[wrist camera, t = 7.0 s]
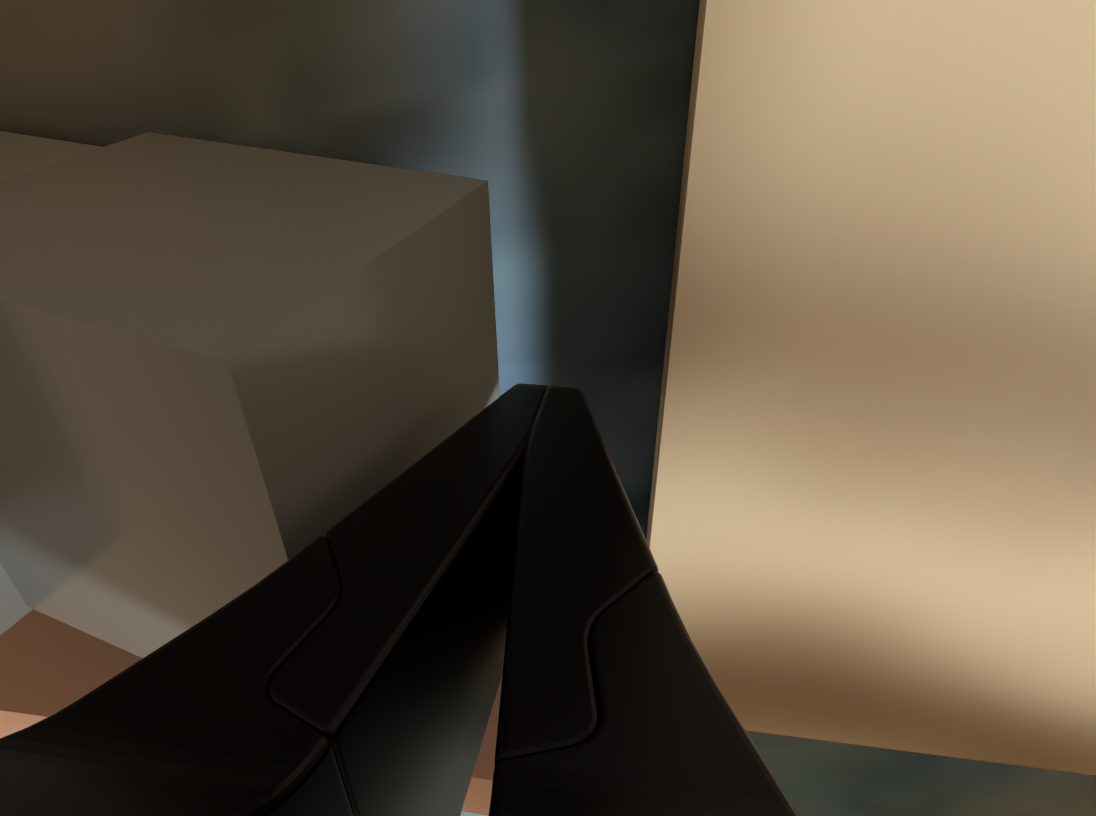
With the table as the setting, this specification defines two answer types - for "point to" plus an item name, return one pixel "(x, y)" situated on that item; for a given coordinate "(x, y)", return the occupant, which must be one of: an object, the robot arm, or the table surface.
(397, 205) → the grey square block
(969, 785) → the table surface
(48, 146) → the light grey block
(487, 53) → the table surface
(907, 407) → the bench board
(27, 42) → the table surface
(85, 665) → the fence
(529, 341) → the table surface
